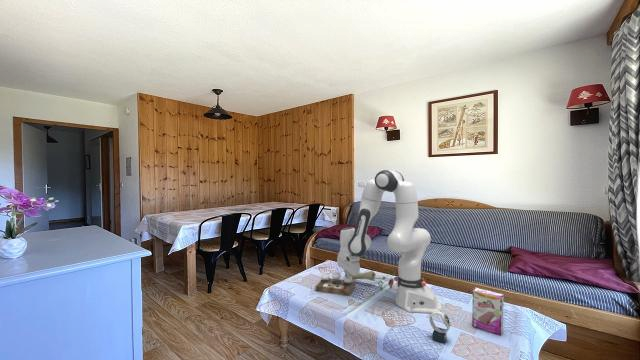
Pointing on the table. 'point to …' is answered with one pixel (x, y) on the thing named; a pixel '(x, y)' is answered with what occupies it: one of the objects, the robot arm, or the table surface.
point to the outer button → (325, 277)
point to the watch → (440, 333)
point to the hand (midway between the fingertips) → (347, 277)
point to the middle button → (336, 275)
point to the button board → (335, 286)
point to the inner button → (347, 280)
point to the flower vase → (373, 278)
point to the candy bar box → (488, 311)
